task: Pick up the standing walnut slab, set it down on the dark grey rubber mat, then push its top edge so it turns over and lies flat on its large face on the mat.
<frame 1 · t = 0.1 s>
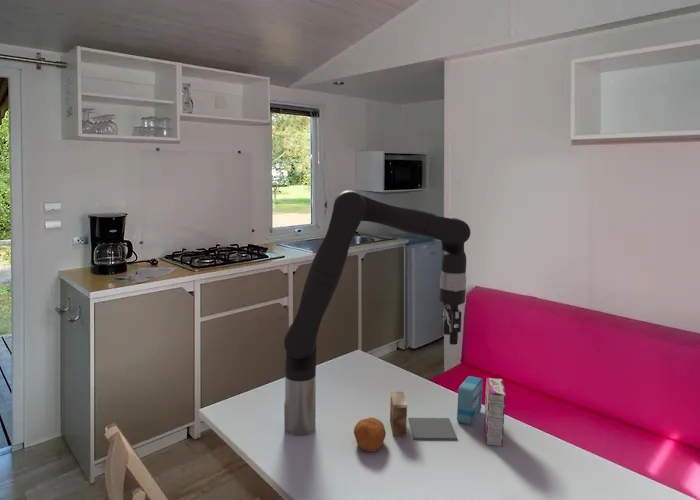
hand: (450, 339, 152), 29 cm above the table, fingers open, 8 cm apart
candy bar box: (492, 437, 153), on the table
slab: (397, 428, 157), on the table
potato: (369, 444, 148), on the table
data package: (469, 417, 165), on the table
mat: (431, 429, 157), on the table
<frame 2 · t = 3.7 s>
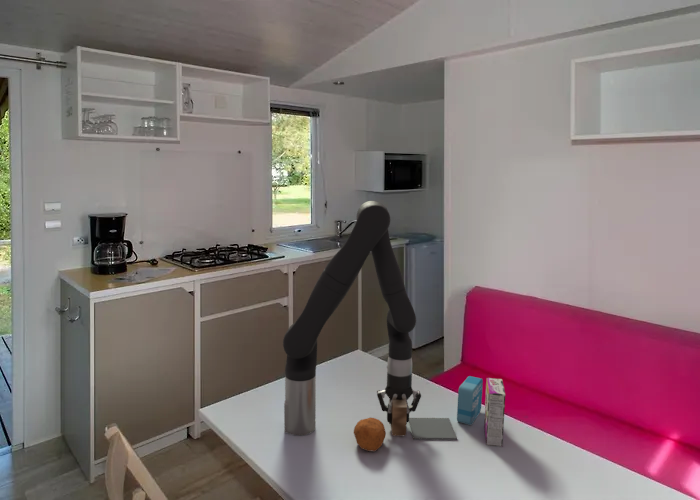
hand: (397, 422, 157), 2 cm above the table, fingers closed on slab, 4 cm apart
slab: (397, 428, 157), on the table, touching gripper
everything else where it was.
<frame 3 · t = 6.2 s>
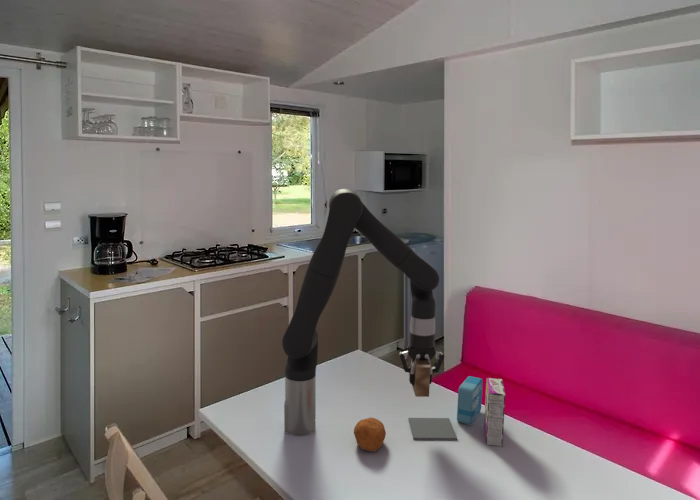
hand: (420, 384, 155), 14 cm above the table, fingers closed on slab, 4 cm apart
slab: (420, 390, 155), point 13 cm above the table, touching gripper
everything else where it was.
when the fingers open (3 cm above the table, at t = 8.8 s): slab stays where it is, resting on mat.
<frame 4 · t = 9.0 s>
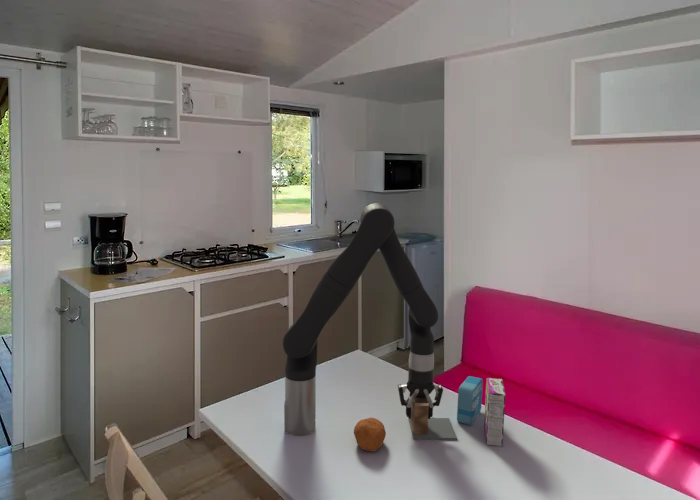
hand: (419, 417, 156), 4 cm above the table, fingers open, 5 cm apart
slab: (418, 426, 157), point 1 cm above the table, touching mat
everything else where it was.
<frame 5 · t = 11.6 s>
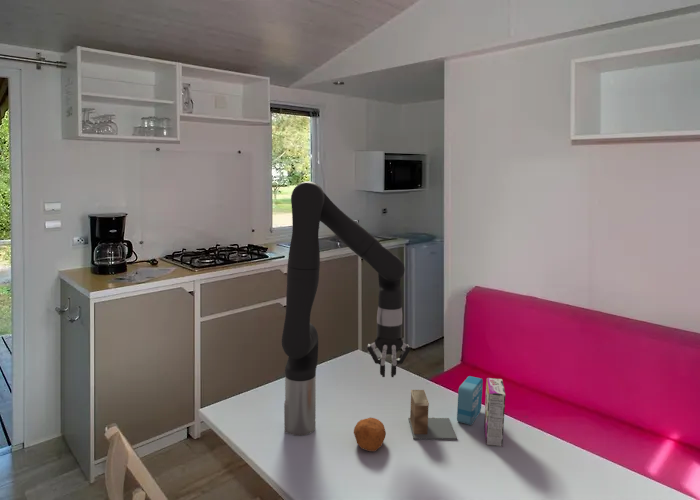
hand: (387, 375, 154), 17 cm above the table, fingers closed
nothing on the table moved.
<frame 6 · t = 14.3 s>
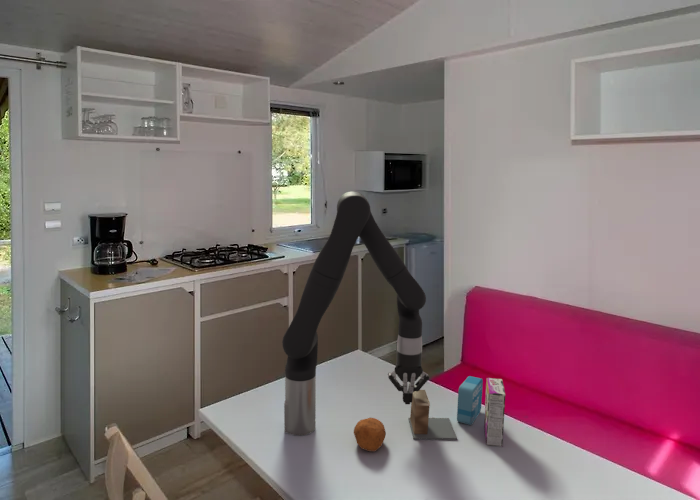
hand: (407, 403, 156), 8 cm above the table, fingers closed
slab: (418, 426, 157), point 1 cm above the table, touching gripper, mat
everything else where it was.
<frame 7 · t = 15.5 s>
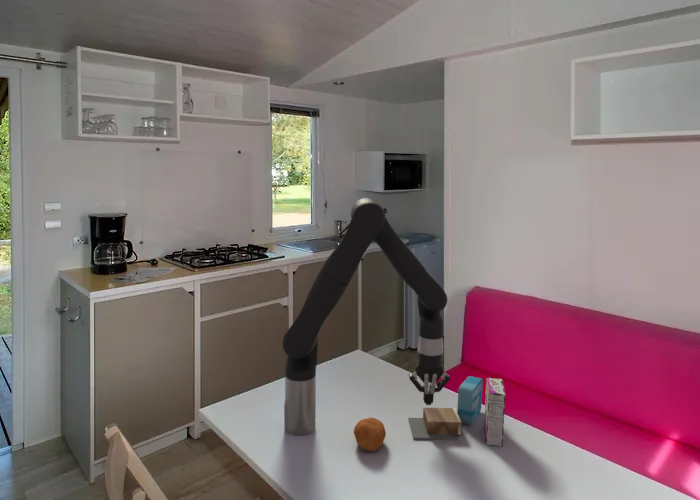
hand: (428, 403, 156), 8 cm above the table, fingers closed
slab: (425, 420, 157), point 3 cm above the table, tilted 90°, touching mat
everything else where it was.
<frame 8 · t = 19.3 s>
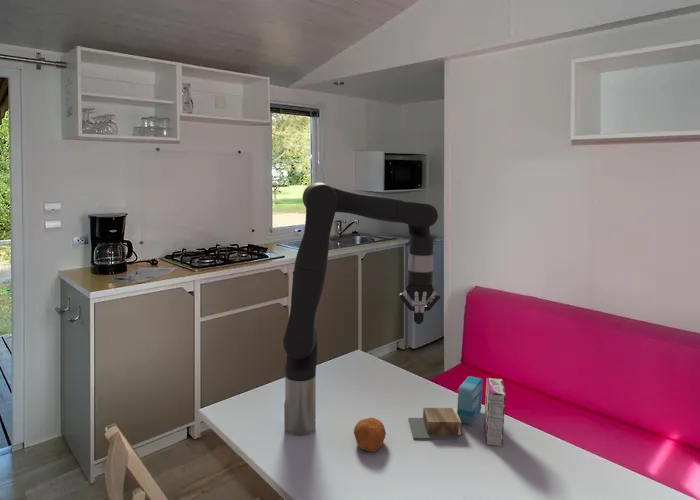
hand: (418, 323, 157), 32 cm above the table, fingers closed
nothing on the table moved.
at the end: slab tilted 90°; slab inside the target area (5.0 cm from its centre), point 2.6 cm above the table; the gripper is holding nothing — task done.
